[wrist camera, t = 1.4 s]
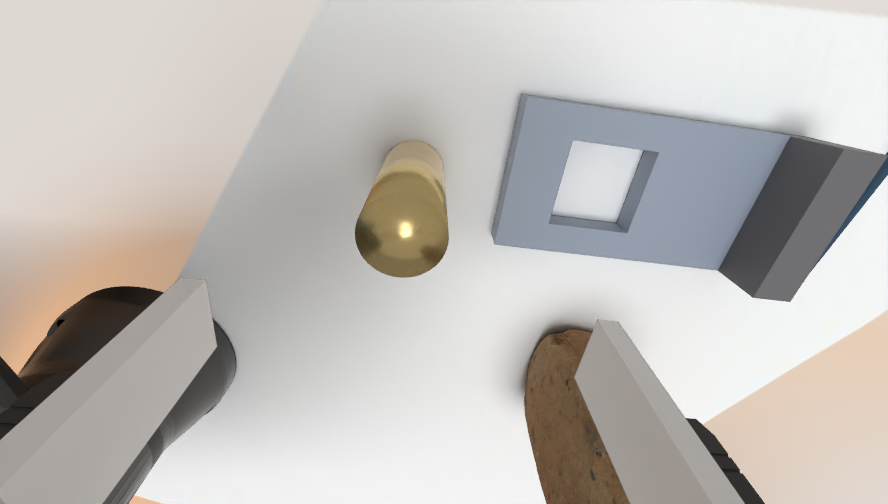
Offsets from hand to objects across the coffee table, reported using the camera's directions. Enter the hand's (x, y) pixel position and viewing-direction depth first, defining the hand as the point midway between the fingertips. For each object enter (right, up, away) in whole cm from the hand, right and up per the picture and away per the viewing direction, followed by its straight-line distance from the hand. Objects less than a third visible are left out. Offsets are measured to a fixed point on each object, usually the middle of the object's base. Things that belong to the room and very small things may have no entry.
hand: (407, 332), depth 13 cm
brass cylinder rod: (-1, +9, +16) cm, 19 cm away
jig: (+17, +8, +17) cm, 25 cm away
